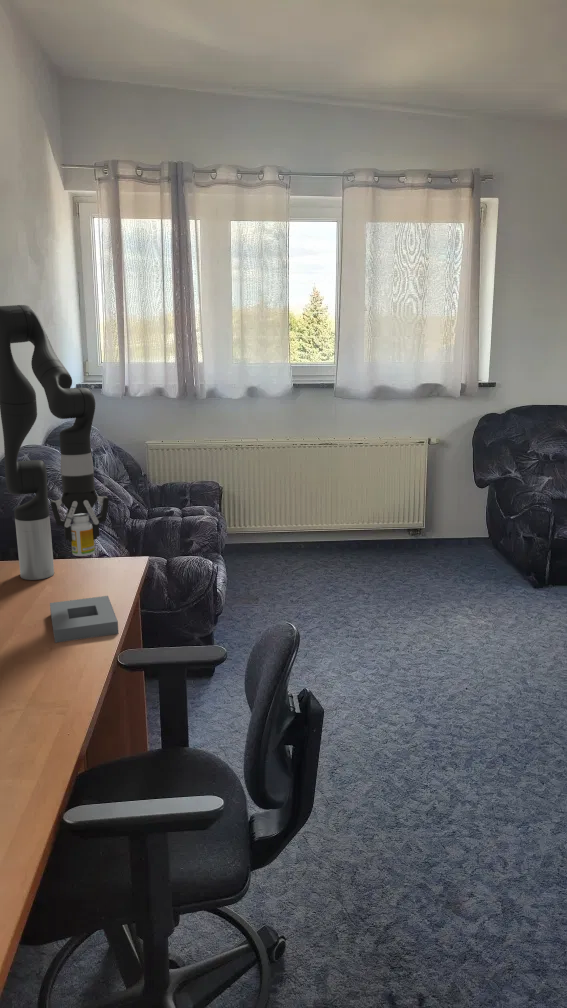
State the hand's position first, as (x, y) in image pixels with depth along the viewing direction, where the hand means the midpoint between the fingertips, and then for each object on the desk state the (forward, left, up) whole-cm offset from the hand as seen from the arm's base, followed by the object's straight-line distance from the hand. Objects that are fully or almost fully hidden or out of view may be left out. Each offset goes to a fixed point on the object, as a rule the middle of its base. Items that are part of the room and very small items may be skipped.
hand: (82, 539), depth 177 cm
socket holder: (+8, -5, -18) cm, 20 cm away
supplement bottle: (0, 0, -4) cm, 4 cm away
